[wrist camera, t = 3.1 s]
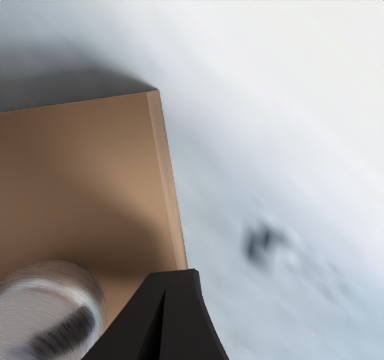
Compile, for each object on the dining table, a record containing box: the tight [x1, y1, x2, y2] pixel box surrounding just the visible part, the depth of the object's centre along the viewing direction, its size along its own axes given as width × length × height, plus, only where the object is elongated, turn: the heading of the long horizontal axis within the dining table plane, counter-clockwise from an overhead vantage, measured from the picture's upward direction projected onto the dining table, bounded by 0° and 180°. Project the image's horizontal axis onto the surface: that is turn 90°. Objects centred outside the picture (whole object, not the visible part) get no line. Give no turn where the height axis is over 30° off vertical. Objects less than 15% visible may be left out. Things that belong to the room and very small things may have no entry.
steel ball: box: [0, 260, 108, 360], centre depth 8 cm, size 3×3×3 cm
